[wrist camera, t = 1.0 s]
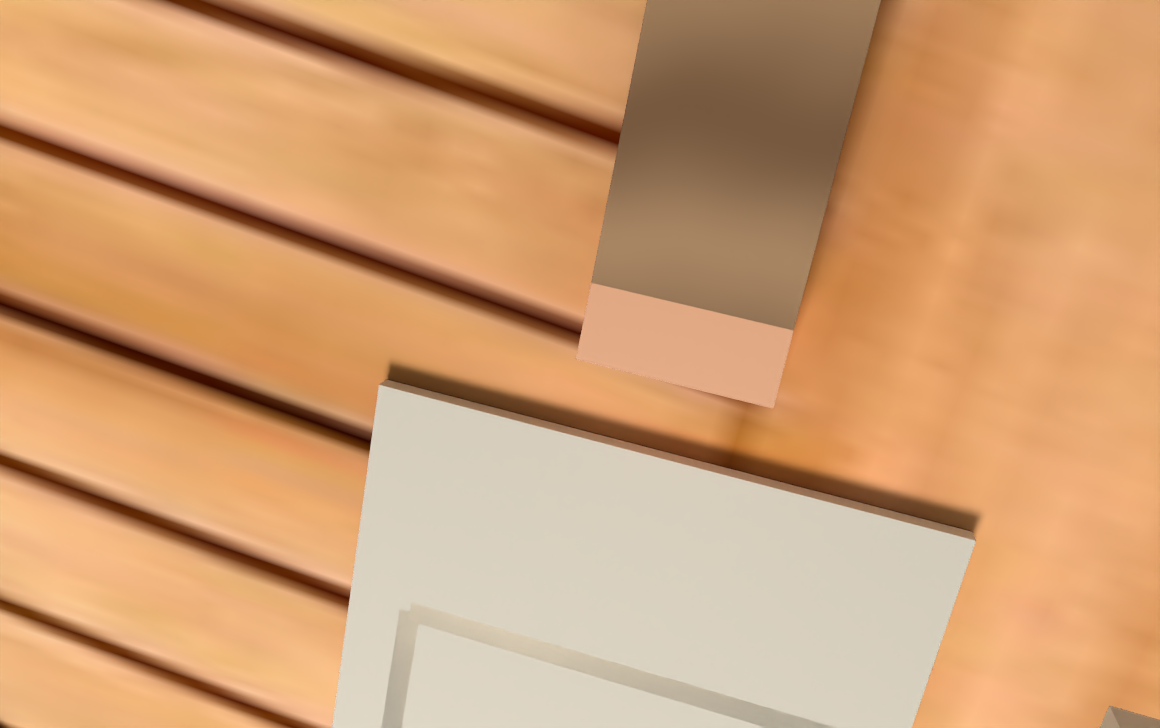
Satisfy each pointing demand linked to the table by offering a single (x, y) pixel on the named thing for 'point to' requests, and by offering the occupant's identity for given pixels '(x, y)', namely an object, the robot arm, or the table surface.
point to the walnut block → (722, 188)
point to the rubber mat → (624, 586)
